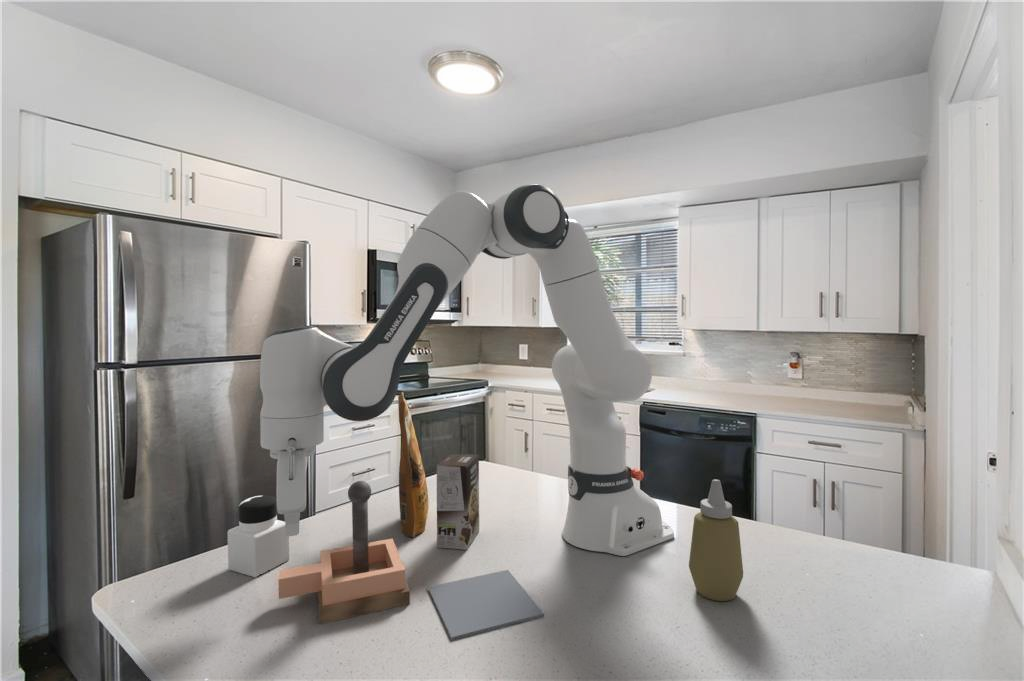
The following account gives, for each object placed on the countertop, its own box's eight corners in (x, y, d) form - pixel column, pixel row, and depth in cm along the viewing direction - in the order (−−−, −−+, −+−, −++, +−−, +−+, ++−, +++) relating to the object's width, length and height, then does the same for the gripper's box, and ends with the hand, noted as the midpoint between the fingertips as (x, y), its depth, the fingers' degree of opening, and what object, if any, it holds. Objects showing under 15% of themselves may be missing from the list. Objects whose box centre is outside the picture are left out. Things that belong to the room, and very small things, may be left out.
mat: (507, 572, 86) (507, 569, 86) (543, 616, 73) (543, 613, 73) (428, 589, 80) (428, 586, 80) (451, 640, 67) (451, 637, 67)
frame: (392, 555, 88) (392, 538, 88) (405, 588, 77) (405, 569, 77) (281, 575, 81) (280, 557, 81) (277, 615, 70) (276, 594, 70)
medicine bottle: (290, 560, 90) (288, 495, 90) (255, 578, 84) (253, 508, 83) (263, 552, 93) (261, 490, 93) (227, 570, 87) (225, 502, 86)
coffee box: (468, 550, 94) (467, 466, 93) (435, 547, 95) (434, 464, 94) (480, 530, 103) (480, 453, 102) (451, 528, 104) (450, 452, 103)
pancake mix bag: (390, 542, 97) (387, 401, 96) (401, 506, 116) (400, 388, 115) (424, 540, 98) (422, 400, 97) (430, 505, 117) (429, 387, 116)
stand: (394, 563, 89) (393, 465, 88) (409, 603, 76) (408, 489, 75) (317, 577, 84) (315, 474, 83) (319, 623, 71) (316, 501, 70)
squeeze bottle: (718, 612, 73) (719, 492, 73) (677, 586, 80) (678, 477, 80) (754, 598, 77) (756, 483, 76) (712, 574, 84) (713, 470, 84)
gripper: (316, 446, 67) (316, 546, 67) (314, 419, 86) (314, 498, 86) (264, 450, 65) (265, 554, 65) (273, 421, 83) (274, 502, 84)
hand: (293, 522), depth 76 cm, fingers open, 8 cm apart
